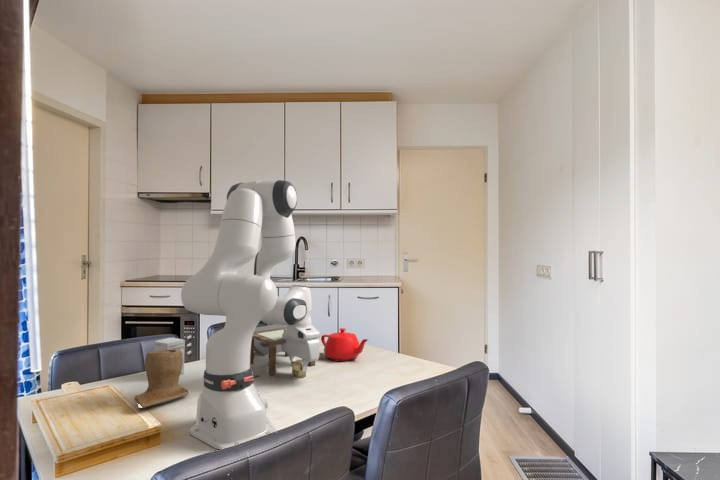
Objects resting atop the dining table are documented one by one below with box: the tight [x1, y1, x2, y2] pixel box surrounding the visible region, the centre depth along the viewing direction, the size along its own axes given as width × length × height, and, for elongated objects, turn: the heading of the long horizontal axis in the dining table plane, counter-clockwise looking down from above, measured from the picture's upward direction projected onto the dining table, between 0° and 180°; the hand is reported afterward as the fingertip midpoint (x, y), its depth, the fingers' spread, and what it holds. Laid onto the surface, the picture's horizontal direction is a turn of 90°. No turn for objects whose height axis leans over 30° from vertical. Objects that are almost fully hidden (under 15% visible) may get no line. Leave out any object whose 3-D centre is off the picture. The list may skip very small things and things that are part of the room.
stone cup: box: [134, 349, 190, 409], centre depth 115 cm, size 15×12×15 cm
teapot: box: [320, 327, 369, 362], centre depth 162 cm, size 25×16×12 cm, turn 54°
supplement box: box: [153, 337, 186, 376], centre depth 138 cm, size 7×7×13 cm
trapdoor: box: [257, 329, 284, 340], centre depth 152 cm, size 14×14×1 cm
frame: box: [250, 328, 316, 377], centre depth 152 cm, size 19×19×12 cm
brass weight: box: [291, 359, 307, 379], centre depth 138 cm, size 5×5×5 cm
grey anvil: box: [254, 324, 287, 356], centre depth 172 cm, size 25×8×11 cm, turn 135°
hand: (298, 368), depth 138 cm, fingers closed on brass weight, 5 cm apart
